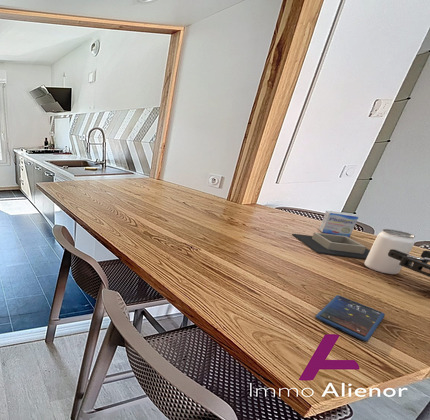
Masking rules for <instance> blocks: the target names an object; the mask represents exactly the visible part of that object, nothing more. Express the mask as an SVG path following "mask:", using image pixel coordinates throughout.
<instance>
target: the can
mask: <svg viewBox="0 0 430 420" xmlns="http://www.w3.org/2000/svg"><path fill="white" fill-rule="evenodd" d="M415 238H416V235H414V234H413V233H409V232H406V231H403V230H397V229H390V228H384V229H382V230H381V231H380V232H379V233H378V234H377V236H376V238H375V240H374V241H373V244H372V246H371V247H370V249H369V250H370V252H369V254H368V256H367V258H366V260H364V263H363V264H364V267H366V268H367V269H369V270H372V271H374V272H377V273H381V274H385V275H392V276H393V275H397V274H399V273H400V272H401V269H402V268H403V266H401V265H399V263H400V262H401V261H399V260H397V259H394V258H392V257H389V256H388V253H389V251H390V250H391V249H395V250H398V251H400V252H403V253H406V254H408V255H410V253H411V251H412V249H413V248H414V246H415V243H416V240H415Z"/></svg>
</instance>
